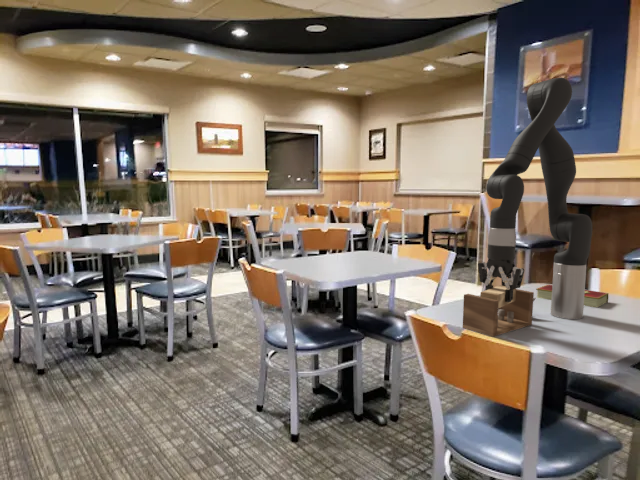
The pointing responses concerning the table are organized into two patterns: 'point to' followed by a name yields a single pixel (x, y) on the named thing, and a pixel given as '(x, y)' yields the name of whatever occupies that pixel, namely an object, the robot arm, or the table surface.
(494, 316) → the peg rack
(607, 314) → the table surface
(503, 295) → the shelf board
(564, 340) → the table surface
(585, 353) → the table surface
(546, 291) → the hardcover book
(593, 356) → the table surface
